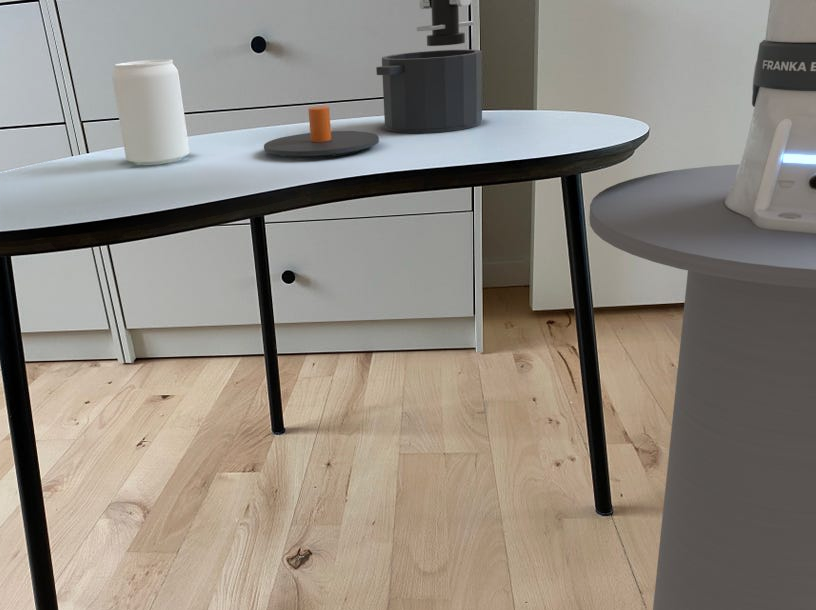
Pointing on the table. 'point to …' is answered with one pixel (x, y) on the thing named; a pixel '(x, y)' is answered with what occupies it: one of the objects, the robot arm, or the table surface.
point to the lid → (321, 139)
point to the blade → (444, 25)
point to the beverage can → (150, 111)
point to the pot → (432, 91)
